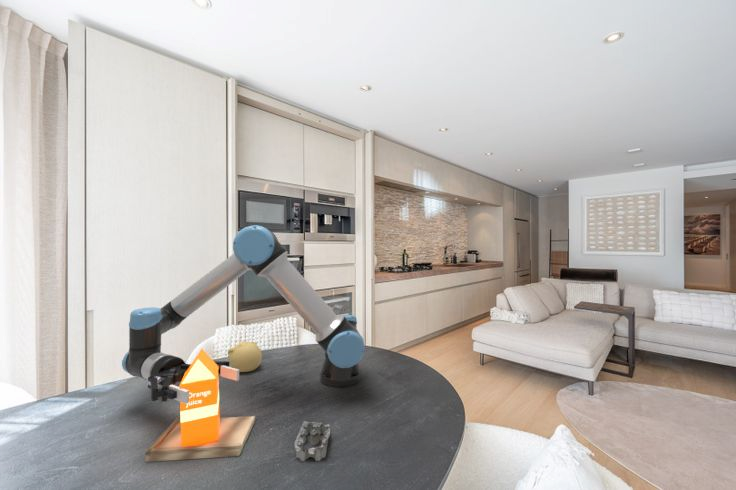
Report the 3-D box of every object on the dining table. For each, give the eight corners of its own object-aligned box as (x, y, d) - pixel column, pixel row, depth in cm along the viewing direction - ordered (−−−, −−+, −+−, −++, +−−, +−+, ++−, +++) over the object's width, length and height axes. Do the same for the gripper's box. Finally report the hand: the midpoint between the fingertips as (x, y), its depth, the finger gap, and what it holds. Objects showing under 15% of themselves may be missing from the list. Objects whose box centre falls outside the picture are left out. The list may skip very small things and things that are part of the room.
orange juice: (180, 449, 69) (178, 361, 70) (186, 429, 78) (184, 350, 78) (218, 440, 73) (216, 355, 73) (220, 421, 81) (218, 345, 81)
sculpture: (249, 361, 128) (250, 336, 128) (267, 368, 121) (267, 341, 121) (223, 370, 119) (223, 342, 119) (240, 378, 112) (241, 348, 112)
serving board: (254, 421, 84) (255, 413, 84) (239, 455, 70) (239, 445, 70) (177, 425, 82) (177, 417, 82) (145, 462, 68) (145, 451, 68)
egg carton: (325, 463, 68) (325, 445, 68) (291, 462, 68) (291, 444, 68) (332, 434, 79) (332, 418, 79) (303, 433, 79) (303, 417, 79)
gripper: (206, 367, 95) (254, 381, 86) (109, 402, 73) (160, 427, 63) (206, 343, 95) (255, 354, 86) (110, 371, 73) (160, 390, 64)
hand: (214, 385), depth 75 cm, fingers open, 13 cm apart
